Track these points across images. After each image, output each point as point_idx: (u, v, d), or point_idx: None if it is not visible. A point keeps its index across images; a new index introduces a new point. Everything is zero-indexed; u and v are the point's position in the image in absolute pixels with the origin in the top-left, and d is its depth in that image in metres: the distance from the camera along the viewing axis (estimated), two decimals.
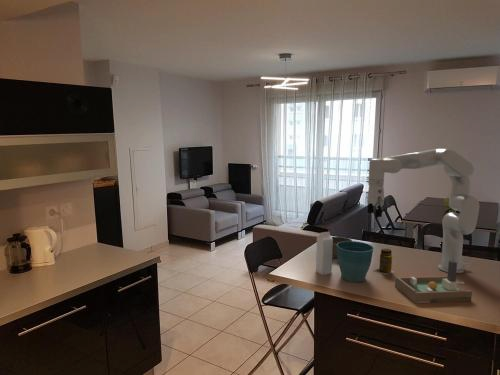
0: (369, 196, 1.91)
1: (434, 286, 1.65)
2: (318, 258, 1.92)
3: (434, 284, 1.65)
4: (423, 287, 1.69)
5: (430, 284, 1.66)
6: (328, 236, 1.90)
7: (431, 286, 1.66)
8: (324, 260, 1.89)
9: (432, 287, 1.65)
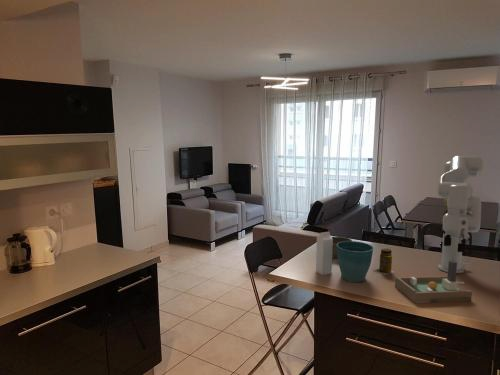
0: (448, 227, 1.66)
1: (434, 286, 1.65)
2: (318, 258, 1.92)
3: (434, 284, 1.65)
4: (423, 287, 1.69)
5: (430, 284, 1.66)
6: (328, 236, 1.90)
7: (431, 286, 1.66)
8: (324, 260, 1.89)
9: (432, 287, 1.65)
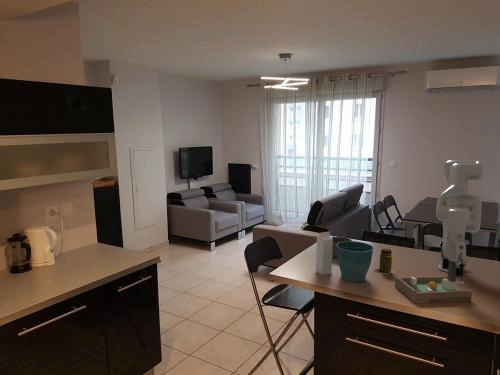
0: (446, 251, 1.67)
1: (434, 286, 1.65)
2: (318, 258, 1.92)
3: (434, 284, 1.65)
4: (423, 287, 1.69)
5: (430, 284, 1.66)
6: (328, 236, 1.90)
7: (431, 286, 1.66)
8: (324, 260, 1.89)
9: (432, 287, 1.65)
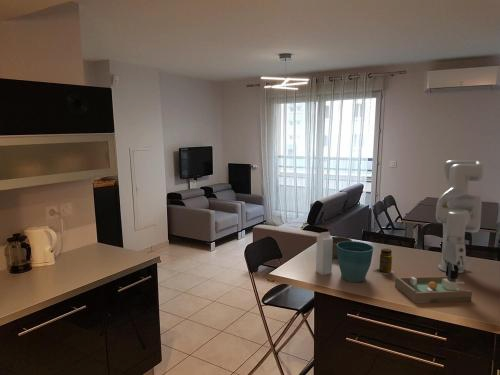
0: (446, 253, 1.67)
1: (434, 286, 1.65)
2: (318, 258, 1.92)
3: (434, 284, 1.65)
4: (423, 287, 1.69)
5: (430, 284, 1.66)
6: (328, 236, 1.90)
7: (431, 286, 1.66)
8: (324, 260, 1.89)
9: (432, 287, 1.65)
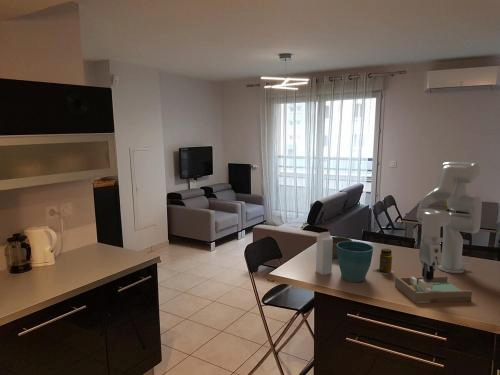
0: (421, 254, 1.66)
1: None
2: (318, 258, 1.92)
3: None
4: None
5: (411, 286, 1.65)
6: (328, 236, 1.90)
7: None
8: (324, 260, 1.89)
9: None
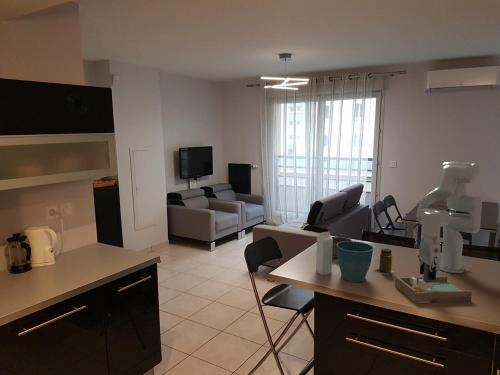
0: (421, 253, 1.66)
1: (418, 290, 1.65)
2: (318, 258, 1.92)
3: (418, 291, 1.65)
4: None
5: None
6: (328, 236, 1.90)
7: (418, 288, 1.65)
8: (324, 260, 1.89)
9: (417, 288, 1.65)
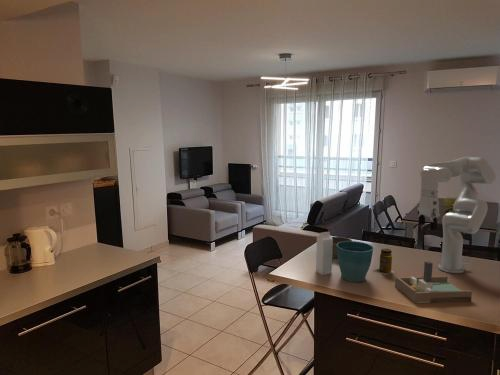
0: (421, 208, 1.81)
1: (416, 290, 1.64)
2: (318, 258, 1.92)
3: (417, 290, 1.65)
4: None
5: (416, 287, 1.66)
6: (328, 236, 1.90)
7: (415, 287, 1.65)
8: (324, 260, 1.89)
9: (415, 288, 1.65)
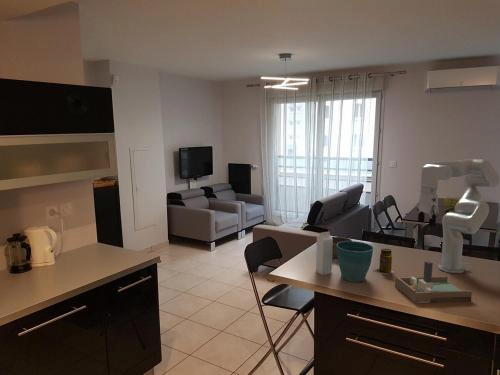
0: (421, 204, 1.83)
1: None
2: (318, 258, 1.92)
3: (416, 289, 1.65)
4: None
5: (413, 286, 1.65)
6: (328, 236, 1.90)
7: (413, 287, 1.65)
8: (324, 260, 1.89)
9: None
